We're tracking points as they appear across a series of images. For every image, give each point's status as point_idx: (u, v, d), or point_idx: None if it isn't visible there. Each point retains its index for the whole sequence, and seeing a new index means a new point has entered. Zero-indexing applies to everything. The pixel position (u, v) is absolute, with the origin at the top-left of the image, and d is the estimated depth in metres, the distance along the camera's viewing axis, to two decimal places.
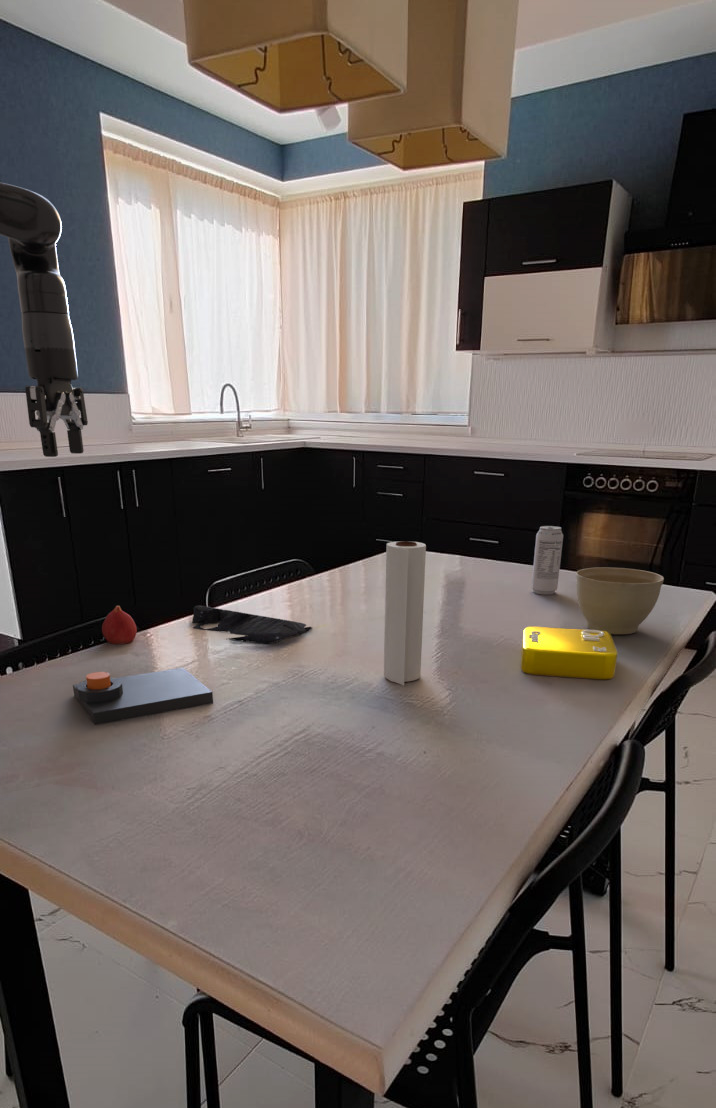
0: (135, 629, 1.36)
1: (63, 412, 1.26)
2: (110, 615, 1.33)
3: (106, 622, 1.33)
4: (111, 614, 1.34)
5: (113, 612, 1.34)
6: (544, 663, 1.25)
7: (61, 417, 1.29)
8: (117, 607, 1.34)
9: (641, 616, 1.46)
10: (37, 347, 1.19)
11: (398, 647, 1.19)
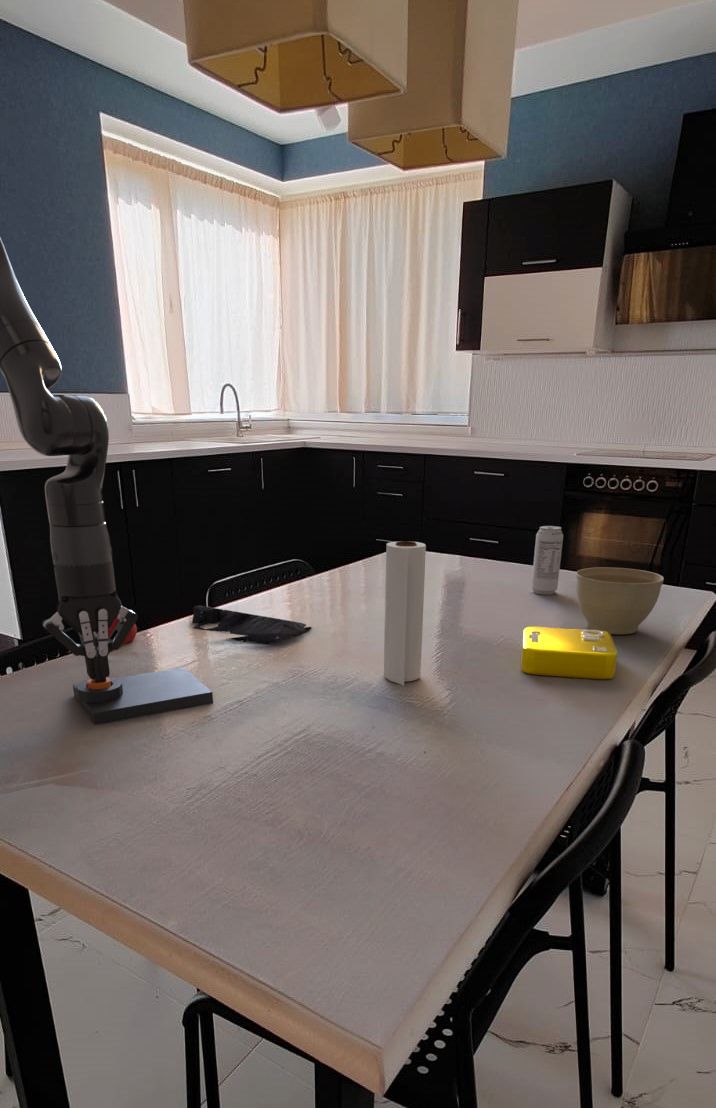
0: (135, 629, 1.36)
1: (91, 630, 1.05)
2: None
3: None
4: None
5: None
6: (544, 663, 1.25)
7: (94, 633, 1.08)
8: None
9: (641, 616, 1.46)
10: (53, 563, 1.01)
11: (398, 647, 1.19)
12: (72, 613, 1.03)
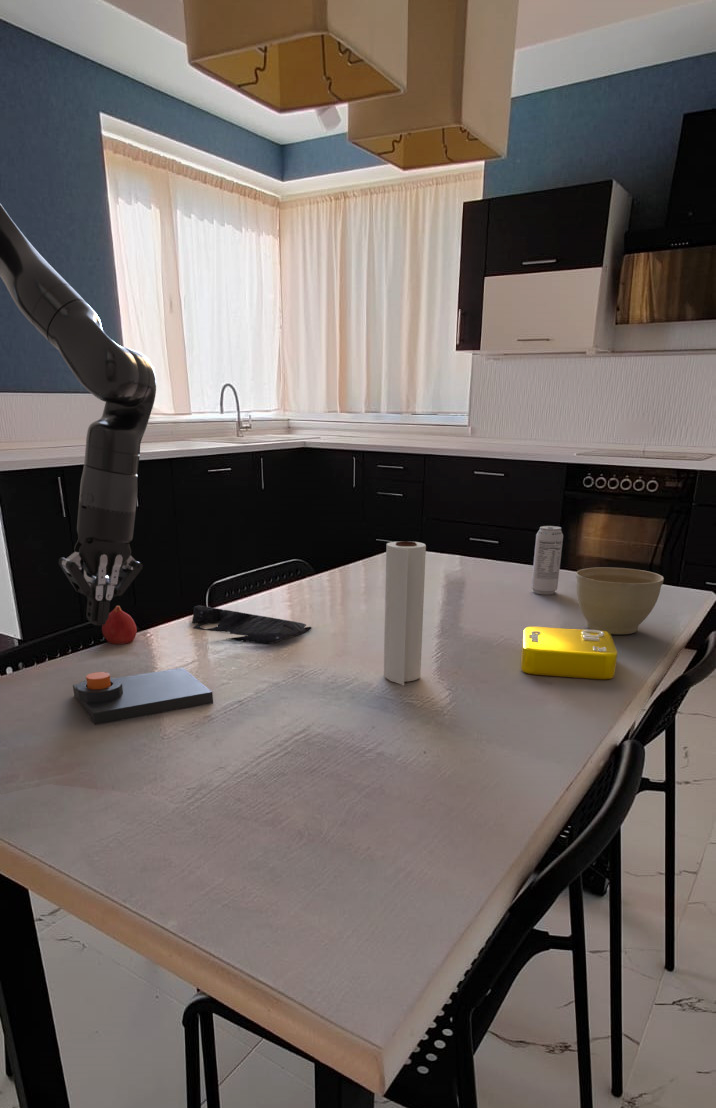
0: (135, 629, 1.36)
1: None
2: (110, 615, 1.33)
3: (106, 622, 1.33)
4: (111, 614, 1.34)
5: (113, 612, 1.34)
6: (544, 663, 1.25)
7: None
8: (117, 607, 1.34)
9: (641, 616, 1.46)
10: (84, 503, 1.04)
11: (398, 647, 1.19)
12: (92, 555, 1.07)
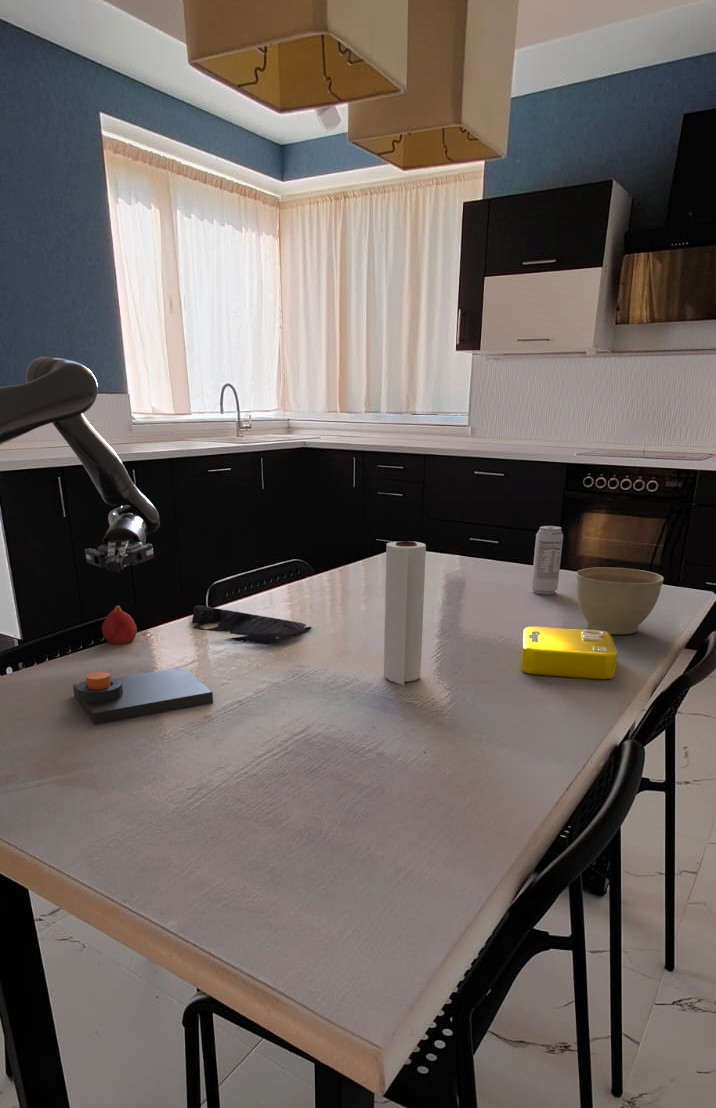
0: (135, 629, 1.36)
1: None
2: (110, 615, 1.33)
3: (106, 622, 1.33)
4: (111, 614, 1.34)
5: (113, 612, 1.34)
6: (544, 663, 1.25)
7: (114, 550, 1.42)
8: (117, 607, 1.34)
9: (641, 616, 1.46)
10: (144, 540, 1.52)
11: (398, 647, 1.19)
12: None
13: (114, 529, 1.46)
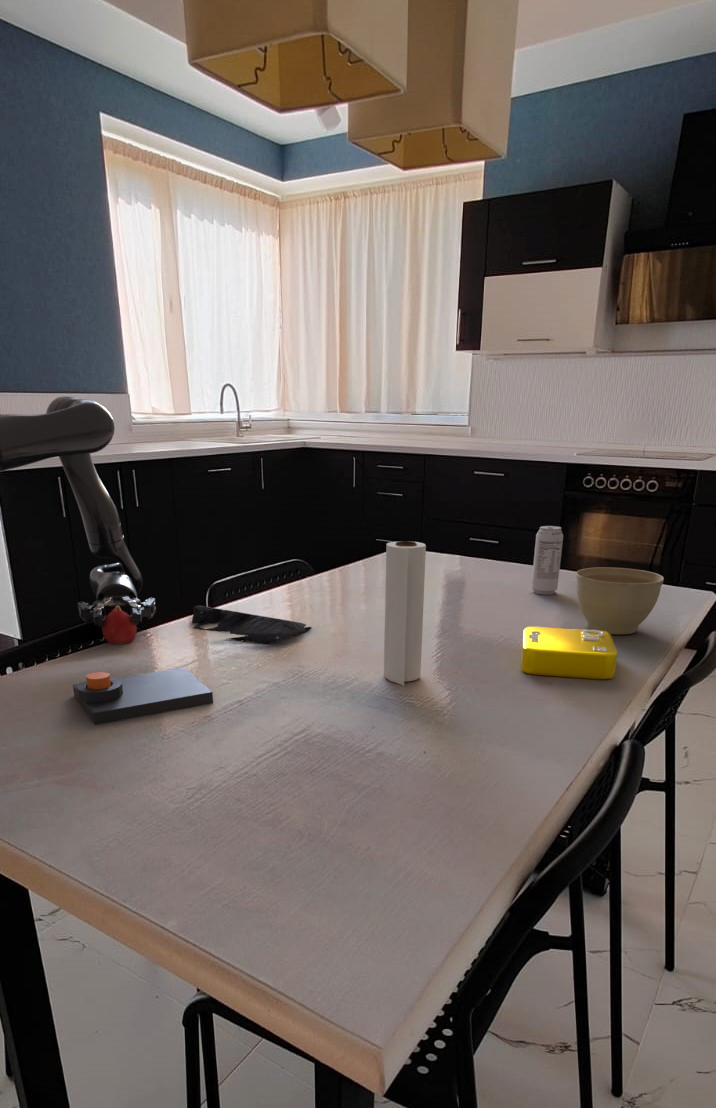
0: (135, 629, 1.36)
1: None
2: (110, 615, 1.33)
3: (106, 622, 1.33)
4: (111, 614, 1.34)
5: (113, 612, 1.34)
6: (544, 663, 1.25)
7: (104, 605, 1.37)
8: (117, 607, 1.34)
9: (641, 616, 1.46)
10: None
11: (398, 647, 1.19)
12: None
13: (110, 585, 1.42)
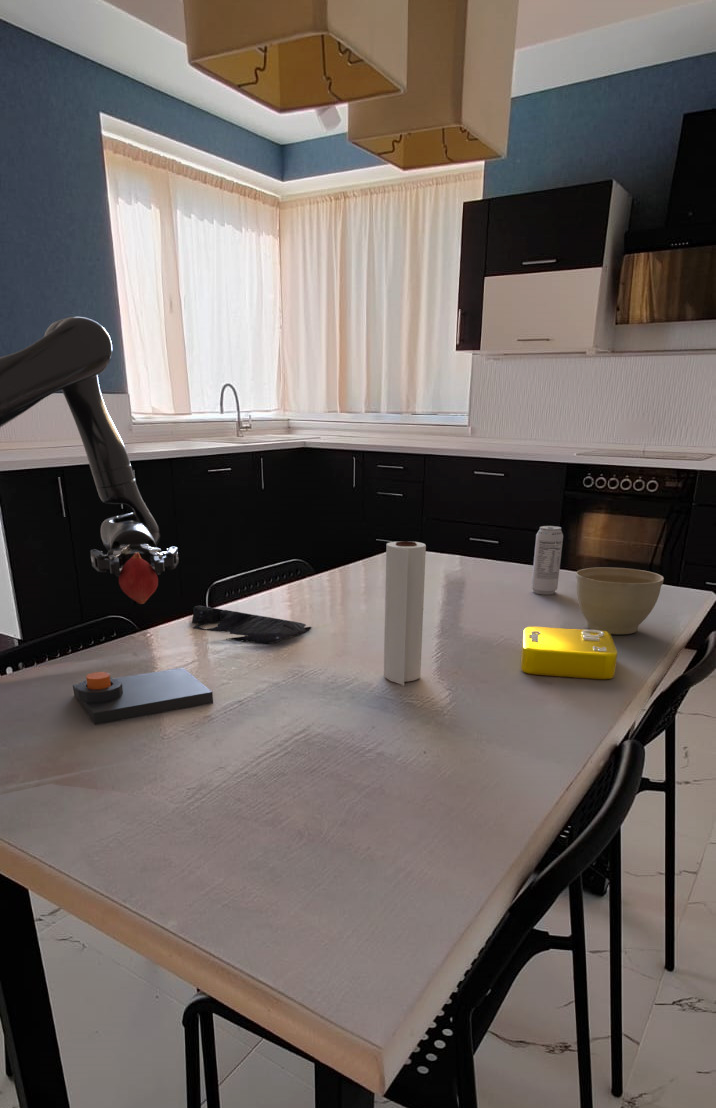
0: (156, 580, 1.19)
1: None
2: (128, 563, 1.17)
3: (123, 571, 1.16)
4: (129, 562, 1.17)
5: (132, 559, 1.17)
6: (544, 663, 1.25)
7: (121, 553, 1.20)
8: (136, 554, 1.17)
9: (641, 616, 1.46)
10: None
11: (398, 647, 1.19)
12: None
13: (127, 531, 1.25)
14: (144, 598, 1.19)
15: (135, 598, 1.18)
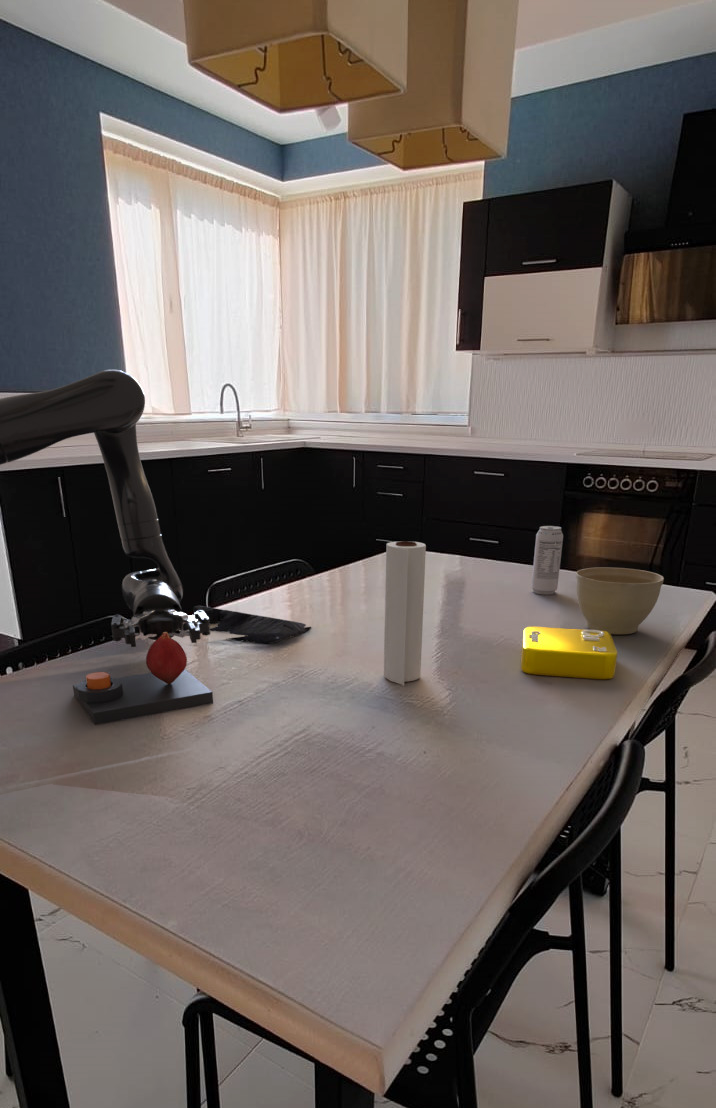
0: (185, 660, 1.14)
1: None
2: (156, 643, 1.12)
3: (151, 652, 1.11)
4: (157, 642, 1.12)
5: (160, 640, 1.12)
6: (544, 663, 1.25)
7: (140, 621, 1.14)
8: (165, 634, 1.12)
9: (641, 616, 1.46)
10: None
11: (398, 647, 1.19)
12: None
13: (151, 596, 1.19)
14: (172, 679, 1.14)
15: (163, 679, 1.13)
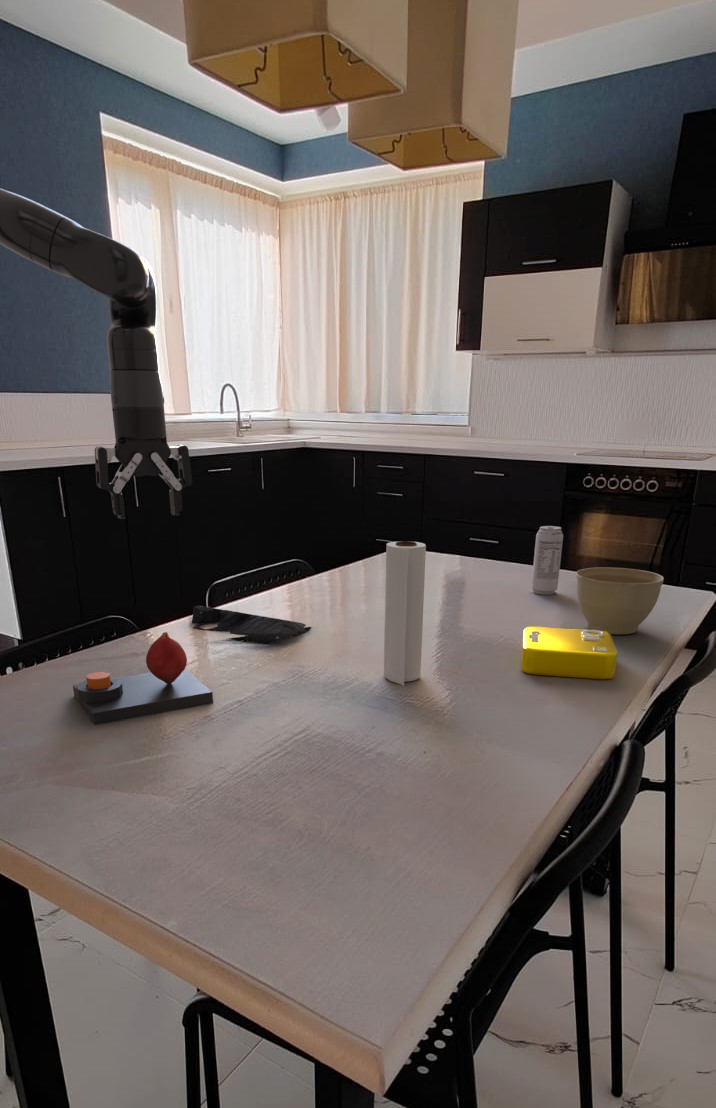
0: (185, 660, 1.14)
1: (144, 473, 1.17)
2: (156, 643, 1.12)
3: (151, 652, 1.11)
4: (157, 642, 1.12)
5: (160, 640, 1.12)
6: (544, 663, 1.25)
7: (161, 476, 1.21)
8: (165, 634, 1.12)
9: (641, 616, 1.46)
10: (112, 406, 1.13)
11: (398, 647, 1.19)
12: (128, 455, 1.15)
13: None
14: (172, 679, 1.14)
15: (163, 679, 1.13)
